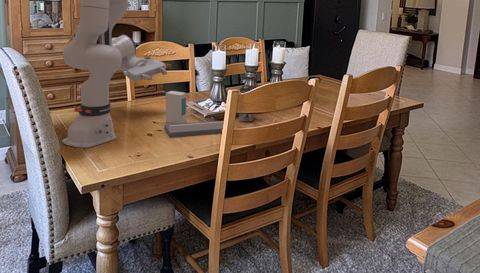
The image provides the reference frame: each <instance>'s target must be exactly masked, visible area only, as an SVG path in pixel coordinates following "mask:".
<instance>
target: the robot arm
mask: <svg viewBox="0 0 480 273" xmlns="http://www.w3.org/2000/svg"><path fill="white" fill-rule="evenodd" d="M128 9H129V0H80V7H79V20H78V22H79V23H78V27H77V31H76V33H75V35H74V37H73V38H72V40H70V42H69V43H67V44H66V45H65V47H64V48H63V51H62V58H63V61H64V63H65V65H67V66H69V67H71V68H74V69H77V70H84V71H89V77H88V79H87V80H85V81H83V82H82V83H81V84H80V102H81V103H80V106H79V107H78V106H75V107H74V109H73V111H74V112H75V113H78V115H77V116H76V117H75V119H74V120H73V121H72V122H71V124H70V125H69V126H68V129H67V137H65V138H63V139H62V140H61V141H62V143H63V144H64V145H67V146H69V147H73V148H83V149H85V148H86V149H88V148H92V147H94V146H98V145H101V144H104V143H107V142H111V141H114V140H116V139H117V136H116V133H115V131H114V124H113V119H112V116H111V111H112V110H111V107H112V106H111V102H110V99H109V98H110V96H109V95H110V94H109V91H110V88H109V87H110V82H111V79H112V77H113V76H114V74H115V73H116V72H117V71H119V70H121V71H122V73H123V75H124V76H125V77H127V78H128V79H129V80H130V81H131V82H139V81H141V80H142V81H143V80H144V81H152V80H153V76H156V75H159V74H161V75H163V76H166V75H167V74H168V72H167V66H166V63H164V62H163V61H160V60H158V59H154V58H153V57H152V56H149V57H141V56H140V57H138V56H136V54H137V47H136V42H135V41H134V39H133V38H131V37H130V36H129V35H127V34H121V35H119V36H118V37H116V38H115V39H114V38H113V40H112V31H113V28H114V27H115V25H116V24H117V23H118V22H119V21H120V20H121V18H122V17H124V16H125V15H126V14H127V11H128ZM97 42H98V43H97Z"/></svg>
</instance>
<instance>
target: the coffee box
mask: <svg viewBox="0 0 480 273" xmlns="http://www.w3.org/2000/svg"><path fill="white" fill-rule="evenodd" d="M254 88H256V89H257V85H253V84H252V85H251V84H244V85H242V86H241V87H240V88H239V93H240V92H241V93H244V92H247V91H250V90H252V89H254ZM238 116H239V117H238V121H239V120H241V121H252V120H253V121H254V119H255V118H256V113H255V114H238ZM254 117H255V118H254ZM253 118H254V119H253ZM241 121H240V122H241ZM253 121H252V122H253Z"/></svg>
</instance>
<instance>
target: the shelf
mask: <svg viewBox="0 0 480 273" xmlns="http://www.w3.org/2000/svg"><path fill="white" fill-rule="evenodd" d="M224 121H225V120H224ZM224 121H219V120H209V121H207V120H206V121H193V122H192V121H191V122H185V123H178V124H174V123H169V124H168V123H166V124H164V125H163V126H164V127H163V128H164V131H165V132H166V133H167V135H168V136H169V138H177V137H186V136H187V137H188V136H200V135H212V134H223V133H222V129H223V122H224Z"/></svg>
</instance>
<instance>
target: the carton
mask: <svg viewBox="0 0 480 273" xmlns="http://www.w3.org/2000/svg"><path fill="white" fill-rule="evenodd" d="M165 117H166V118H165V122H166V123H169V124H178V123H187V93H186V92H183V91H177V90H170V91H167V92H165Z"/></svg>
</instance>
